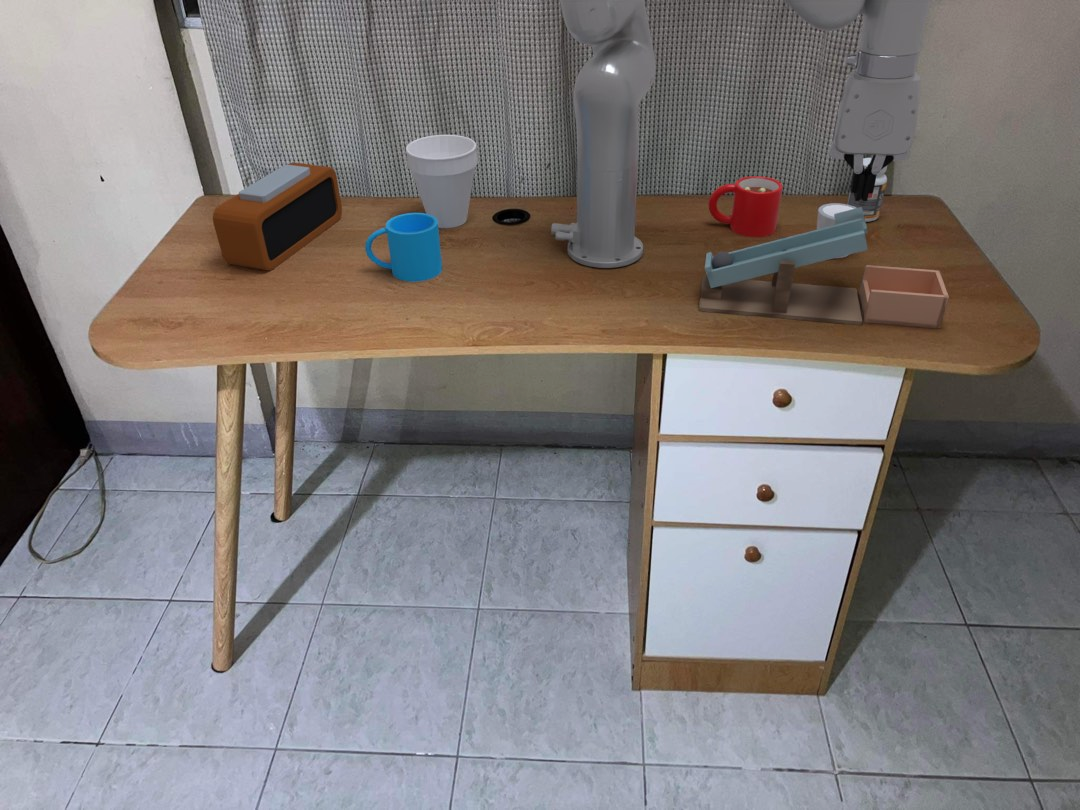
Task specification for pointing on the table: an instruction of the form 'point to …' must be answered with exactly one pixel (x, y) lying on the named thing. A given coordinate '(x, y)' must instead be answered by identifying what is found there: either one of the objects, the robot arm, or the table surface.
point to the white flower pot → (444, 175)
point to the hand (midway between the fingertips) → (860, 197)
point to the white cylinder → (830, 215)
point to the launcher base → (783, 299)
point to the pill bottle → (871, 196)
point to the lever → (794, 250)
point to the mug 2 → (750, 205)
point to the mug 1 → (410, 247)
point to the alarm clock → (277, 215)
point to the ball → (722, 260)
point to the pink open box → (903, 296)
